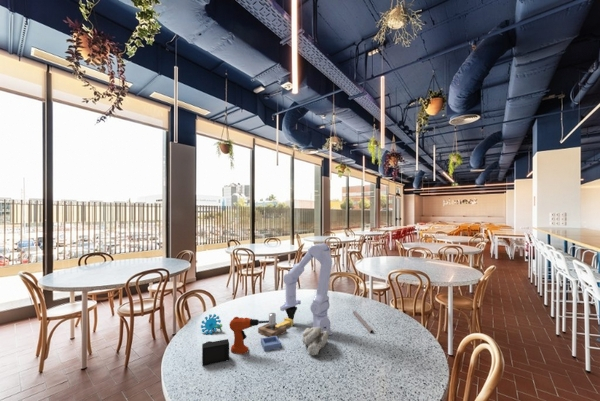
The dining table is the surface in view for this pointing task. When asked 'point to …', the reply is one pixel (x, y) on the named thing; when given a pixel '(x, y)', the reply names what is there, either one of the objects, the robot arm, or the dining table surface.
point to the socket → (269, 333)
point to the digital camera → (215, 352)
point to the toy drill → (241, 333)
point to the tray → (270, 343)
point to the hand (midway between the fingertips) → (290, 320)
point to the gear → (211, 324)
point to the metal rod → (363, 322)
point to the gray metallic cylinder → (272, 321)
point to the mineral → (315, 339)
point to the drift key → (285, 322)
